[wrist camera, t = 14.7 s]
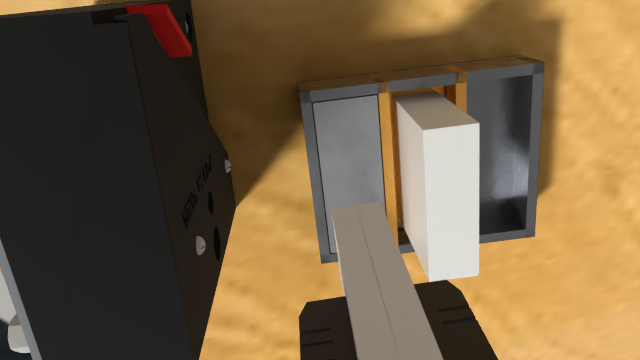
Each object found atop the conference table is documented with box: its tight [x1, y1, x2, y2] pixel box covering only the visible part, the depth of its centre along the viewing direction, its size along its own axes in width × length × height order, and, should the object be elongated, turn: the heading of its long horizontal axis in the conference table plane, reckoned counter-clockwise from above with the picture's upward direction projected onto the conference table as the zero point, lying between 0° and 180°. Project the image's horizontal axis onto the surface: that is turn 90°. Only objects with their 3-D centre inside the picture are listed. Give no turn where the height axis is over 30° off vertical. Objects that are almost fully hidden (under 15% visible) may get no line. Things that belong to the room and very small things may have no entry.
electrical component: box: [0, 0, 236, 360], centre depth 31 cm, size 18×10×20 cm, turn 4°
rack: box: [298, 55, 544, 264], centre depth 41 cm, size 15×18×4 cm
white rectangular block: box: [392, 91, 479, 282], centre depth 37 cm, size 4×11×10 cm, turn 7°
